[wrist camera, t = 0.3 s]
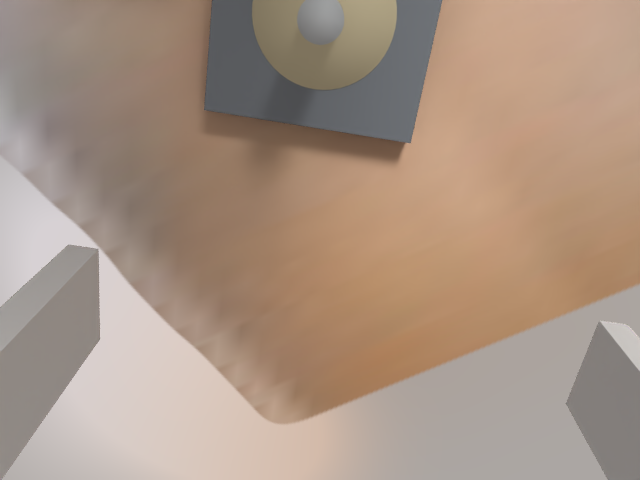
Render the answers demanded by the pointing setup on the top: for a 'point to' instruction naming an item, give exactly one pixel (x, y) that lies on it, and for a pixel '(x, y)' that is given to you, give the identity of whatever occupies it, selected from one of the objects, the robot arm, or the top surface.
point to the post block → (322, 62)
